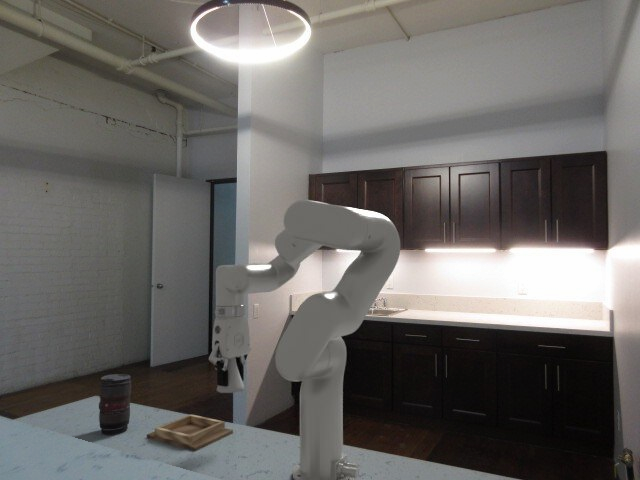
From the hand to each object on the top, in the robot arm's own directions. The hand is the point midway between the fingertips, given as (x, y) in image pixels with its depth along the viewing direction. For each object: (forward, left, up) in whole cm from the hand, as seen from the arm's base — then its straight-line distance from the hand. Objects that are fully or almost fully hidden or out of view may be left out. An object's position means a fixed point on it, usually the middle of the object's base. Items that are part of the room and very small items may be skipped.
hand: (230, 382), depth 118 cm
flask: (0, 0, -2) cm, 2 cm away
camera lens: (+35, +8, -16) cm, 40 cm away
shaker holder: (+14, 0, -16) cm, 21 cm away
